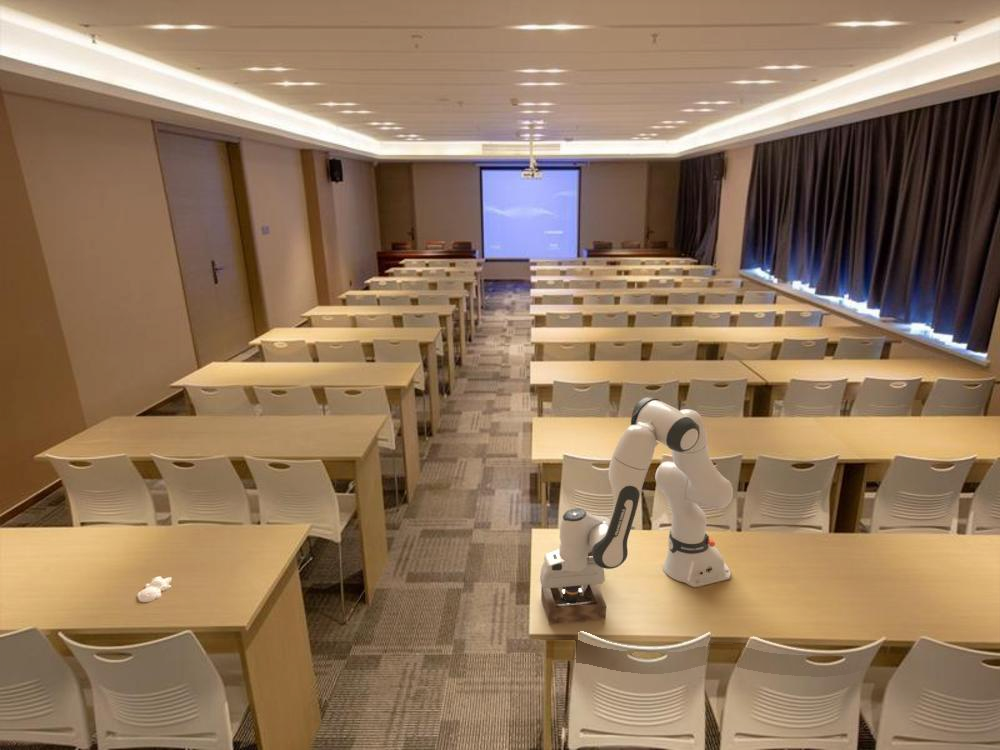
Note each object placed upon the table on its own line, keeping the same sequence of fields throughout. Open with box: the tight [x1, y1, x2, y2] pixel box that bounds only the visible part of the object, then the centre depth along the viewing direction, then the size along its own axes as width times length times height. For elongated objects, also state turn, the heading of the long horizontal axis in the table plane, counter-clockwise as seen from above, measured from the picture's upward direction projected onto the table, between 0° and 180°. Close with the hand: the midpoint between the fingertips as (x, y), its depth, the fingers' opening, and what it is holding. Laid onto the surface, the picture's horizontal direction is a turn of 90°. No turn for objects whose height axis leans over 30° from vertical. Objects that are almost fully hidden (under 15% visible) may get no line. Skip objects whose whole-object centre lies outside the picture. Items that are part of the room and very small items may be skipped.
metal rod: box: [555, 600, 596, 608], centre depth 189 cm, size 15×1×1 cm, turn 97°
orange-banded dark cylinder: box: [564, 586, 580, 604], centre depth 193 cm, size 4×4×5 cm
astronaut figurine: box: [136, 576, 173, 603], centre depth 202 cm, size 9×12×3 cm
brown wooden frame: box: [540, 584, 607, 625], centre depth 192 cm, size 18×12×5 cm, turn 97°
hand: (571, 595), depth 193 cm, fingers closed on orange-banded dark cylinder, 4 cm apart
